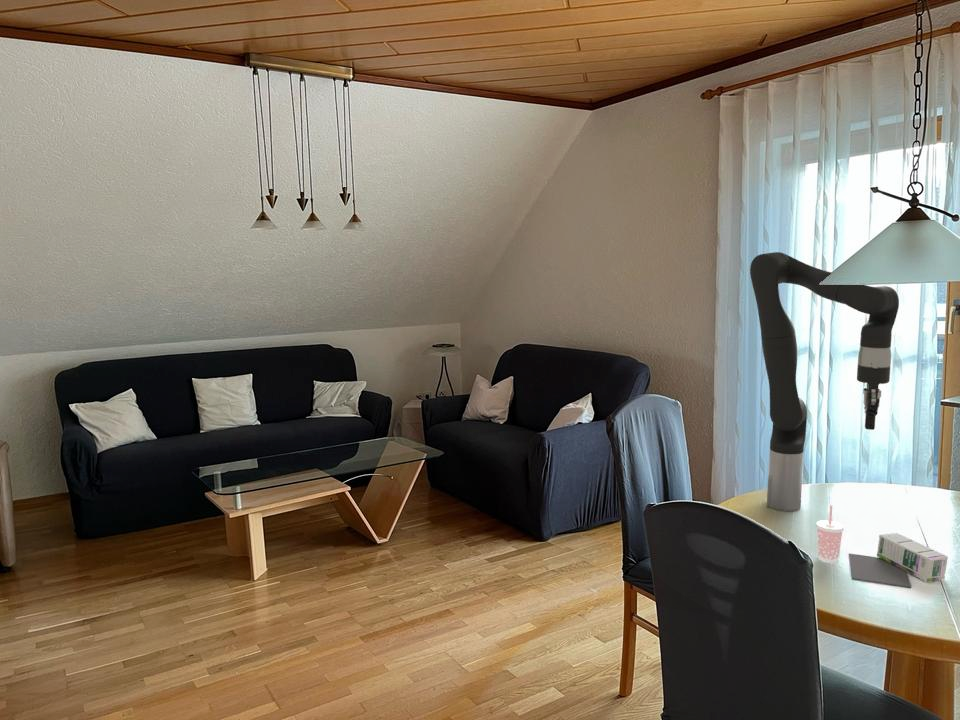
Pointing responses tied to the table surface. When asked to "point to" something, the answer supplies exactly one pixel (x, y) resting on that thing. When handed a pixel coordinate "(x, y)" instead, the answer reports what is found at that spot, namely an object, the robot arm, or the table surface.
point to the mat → (877, 571)
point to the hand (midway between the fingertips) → (869, 428)
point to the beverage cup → (829, 539)
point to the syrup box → (912, 557)
